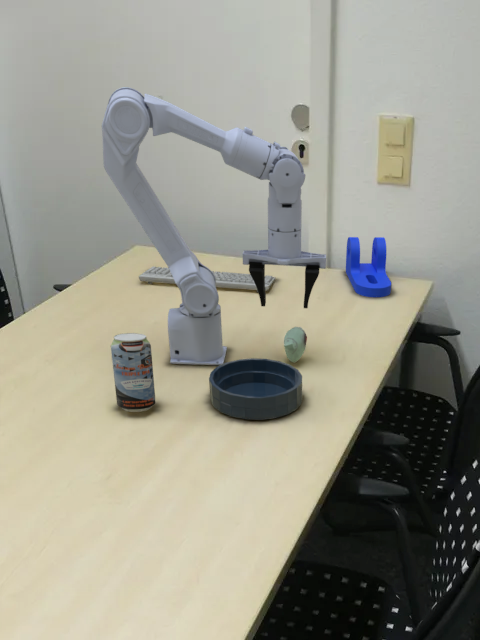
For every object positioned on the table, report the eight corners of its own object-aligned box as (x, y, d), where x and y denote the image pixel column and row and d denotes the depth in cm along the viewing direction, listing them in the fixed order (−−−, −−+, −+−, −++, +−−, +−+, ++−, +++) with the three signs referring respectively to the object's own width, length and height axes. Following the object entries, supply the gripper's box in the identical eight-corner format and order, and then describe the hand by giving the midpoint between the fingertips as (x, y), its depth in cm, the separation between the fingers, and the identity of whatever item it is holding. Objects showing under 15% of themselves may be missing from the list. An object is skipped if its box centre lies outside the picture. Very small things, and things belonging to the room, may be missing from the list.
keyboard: (275, 279, 181) (275, 270, 180) (268, 294, 173) (268, 285, 172) (152, 269, 182) (151, 261, 181) (139, 284, 173) (138, 275, 172)
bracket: (345, 271, 188) (347, 233, 183) (379, 271, 190) (381, 233, 185) (357, 297, 174) (360, 256, 169) (394, 297, 176) (397, 256, 170)
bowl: (205, 419, 124) (203, 395, 122) (216, 379, 136) (214, 356, 134) (300, 422, 125) (300, 399, 123) (302, 382, 137) (303, 360, 135)
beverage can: (118, 419, 123) (107, 347, 116) (117, 398, 128) (107, 328, 121) (158, 416, 124) (151, 344, 117) (156, 395, 130) (148, 326, 123)
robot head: (288, 352, 147) (288, 318, 143) (310, 355, 147) (310, 320, 143) (280, 370, 141) (279, 334, 137) (302, 372, 141) (302, 336, 137)
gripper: (239, 232, 130) (242, 311, 138) (326, 236, 130) (324, 315, 138) (243, 220, 135) (246, 297, 143) (327, 225, 136) (324, 301, 144)
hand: (284, 305), depth 141 cm, fingers open, 7 cm apart
